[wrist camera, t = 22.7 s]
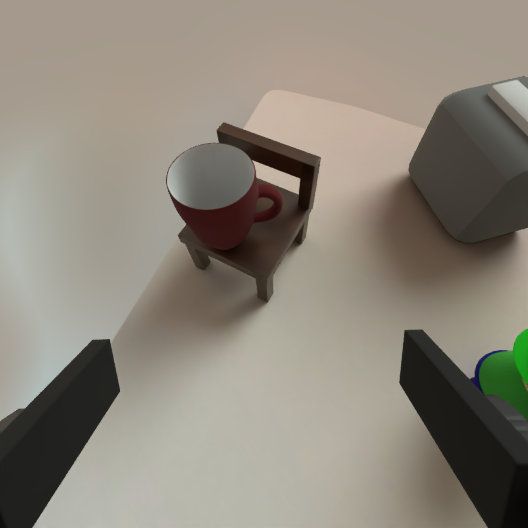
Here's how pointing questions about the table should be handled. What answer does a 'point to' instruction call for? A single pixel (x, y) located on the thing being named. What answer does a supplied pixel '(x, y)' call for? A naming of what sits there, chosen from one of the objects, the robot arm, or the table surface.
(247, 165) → the mug
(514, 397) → the toy
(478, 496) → the robot arm
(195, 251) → the chair
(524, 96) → the alarm clock
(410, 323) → the table surface
